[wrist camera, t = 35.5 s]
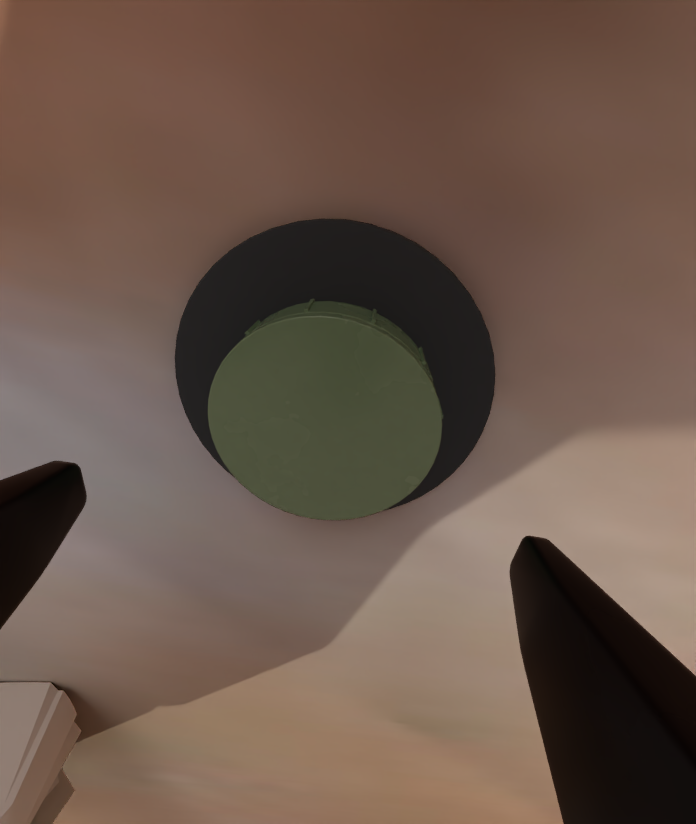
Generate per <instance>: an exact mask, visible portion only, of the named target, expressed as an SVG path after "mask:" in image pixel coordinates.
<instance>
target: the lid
mask: <svg viewBox="0 0 696 824" xmlns="http://www.w3.org/2000/svg"><path fill="white" fill-rule="evenodd" d="M245 334H246V336H245V337H244V338H243V339H242V340H241V341H240V342H239V343H238V344H237V345H236V346H235V347H234V348H233V349H232V350H231V351H230V352H229V354H228V355H227V356H226V357H225V359H224V360H223V361H222V363H221V365H220V366H219V368H218V370H217V372H216V374H215V376H214V379H213V382H212V384H211V388H210V393H209V398H208V421H209V428H210V432H211V436H212V440H213V442H214V445H215V447H216V450H217V452H218V454H219V455H220V457H221V459H222V461H223V463H224V464H225V465H226V467H227V468H228V470H229V471H230V472H231V474H232V475H233V476H234V477H235V478H236V479H237V480H238V481H239V482H240V483H241V484H242V485H243V486H244V487H245V488H246V489H248V490H249V491H250V492H251V493H253V494H254V495H255V496H257V497H258V498H260V499H261V500H263V501H265V502H266V503H268V504H270V505H272V506H274V507H276V508H278V509H281V510H283V511H285V512H288V513H292V514H295V515H298V516H302V517H307V518H311V519H320V520H348V519H355V518H360V517H365V516H368V515H372V514H375V513H378V512H380V511H382V510H385V509H387V508H389V507H391V506H393V505H394V504H396V503H398V502H400V501H401V500H402V499H404V498H405V497H406V496H408V495H409V494H410V493H411V492H412V491H413V490H414V489H415V488H416V487H417V486H418V485H419V484H420V483H421V482H422V481H423V479H424V478H425V477H426V475H427V474H428V472H429V470H430V469H431V467H432V465H433V463H434V461H435V458H436V456H437V453H438V451H439V446H440V442H441V436H442V419H443V413H442V409H441V405H440V401H439V398H438V396H437V392H436V388H435V385H434V381H433V377H432V374H431V371H430V369H429V366H428V364H427V361H426V360H425V356H424V352H423V349H422V348H421V347H420V348H418V347H417V346H416V344H415V343H414V342H413V341H412V339H411V338H410V337H409V336H408V335H407V334H406V333H405V332H404V331H403V330H401V329H400V328H399V327H398V326H396V325H395V324H394V323H392V322H391V321H390V320H388V319H387V318H385V317H383V316H381V315H379V314H377V310H376V309H373V310H372V311H371V310H368V309H366V308H363V307H360V306H356V305H352V304H348V303H343V302H333V301H315V299H311V300H310V301H309V302H307V303H302V304H297V305H294V306H291V307H287V308H284V309H282V310H280V311H278V312H276V313H274V314H272V315H270V316H268V317H267V318H266V319H264V320H263V321H261V322H260V321H259V320H257V321H256V322H255V323H254V324H253V325H252V326H251V327H250V328H249V329H248V330H247V331H246V332H245Z"/></svg>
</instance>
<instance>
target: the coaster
mask: <svg viewBox="0 0 696 824" xmlns="http://www.w3.org/2000/svg"><path fill="white" fill-rule="evenodd" d="M311 299H315V301H333V302H343V303H348V304H352V305H356V306H360V307H363V308H366V309H368V310H371V311H372V310H373V309H376V310H377V314H379V315H381V316H383V317H385V318H387V319H388V320H390V321H391V322H392V323H394V324H395V325H396V326H398V327H399V328H400V329H401V330H403V331H404V332H405V333H406V334H407V335H408V336H409V337H410V338H411V339H412V341H413V342H414V343H415V344H416V346H417V347H418V348H420V347H421V348H422V349H423V352H424V356H425V360H426V361H427V364H428V366H429V369H430V371H431V374H432V377H433V381H434V385H435V388H436V392H437V396H438V398H439V401H440V405H441V409H442V413H443V419H442V436H441V442H440V446H439V451H438V453H437V456H436V458H435V461H434V463H433V465H432V467H431V469H430V470H429V472H428V474H427V475H426V477H425V478H424V479H423V481H422V482H421V483H420V484H419V485H418V486H417V487H416V488H415V489H414V490H413V491H412V492H411V493H410V494H409V495H408V496H406V497H405V498H404V499H402V500H401V501H400V502H398V503H396V504H394V505H393V506H391V507H389V508H387V509H391V508H394V507H397V506H400V505H403V504H405V503H408V502H410V501H412V500H414V499H416V498H418V497H420V496H422V495H424V494H426V493H427V492H429V491H430V490H432V489H434V488H435V487H437V486H438V485H439V484H441V483H442V482H443V481H444V480H445V479H447V478H448V477H449V476H450V475H451V474H452V473H453V472H454V471H455V470H456V469H457V468H458V467H459V466H460V465H461V464H462V463H463V462H464V460H465V459H466V458H467V456H468V455H469V454H470V452H471V451H472V450H473V448H474V447H475V445H476V443H477V441H478V439H479V437H480V436H481V434H482V432H483V430H484V427H485V424H486V422H487V419H488V416H489V414H490V409H491V405H492V400H493V396H494V385H495V366H494V354H493V349H492V345H491V341H490V336H489V333H488V330H487V328H486V325H485V323H484V320H483V317H482V315H481V313H480V311H479V309H478V307H477V306H476V304H475V302H474V300H473V299H472V297H471V295H470V294H469V292H468V291H467V290H466V288H465V287H464V286H463V285H462V283H461V282H460V281H459V280H458V278H457V277H456V276H455V275H454V274H453V272H451V271H450V270H449V269H448V268H447V267H446V266H445V265H444V264H443V263H442V262H441V261H440V260H439V259H438V258H437V257H436V256H434V255H433V254H431V253H430V252H428V251H427V250H426V249H424V248H423V247H421V246H420V245H418V244H417V243H415V242H413V241H411V240H409V239H407V238H405V237H403V236H401V235H399V234H398V233H396V232H393V231H390V230H387V229H384V228H381V227H378V226H375V225H372V224H368V223H363V222H357V221H352V220H346V219H315V220H306V221H297V222H294V223H290V224H286V225H282V226H279V227H275V228H271V229H269V230H267V231H265V232H262V233H260V234H258V235H255V236H253V237H251V238H249V239H247V240H246V241H244V242H243V243H241V244H239V245H238V246H236V247H235V248H233V249H232V250H230V251H229V252H228V253H227V254H225V255H224V256H223V257H222V258H221V259H220V260H219V261H218V262H216V263H215V264H214V265H213V266H212V267H211V269H210V270H209V271H208V272H207V273H206V275H205V276H204V277H203V278H202V279H201V281H200V282H199V284H198V285H197V287H196V289H195V290H194V292H193V294H192V295H191V297H190V299H189V301H188V303H187V306H186V308H185V310H184V313H183V315H182V318H181V322H180V326H179V330H178V334H177V340H176V351H175V368H176V379H177V385H178V390H179V395H180V398H181V401H182V404H183V407H184V410H185V413H186V415H187V417H188V419H189V421H190V423H191V426H192V428H193V430H194V431H195V433H196V434H197V436H198V437H199V439H200V441H201V442H202V444H203V445H204V446H205V448H206V449H207V450H208V451H209V453H210V454H211V455H212V456H213V458H214V459H215V460H216V461H217V462H218V463H219V464H220V465H221V466H222V467H223V468H224V469H225V470H226V471H227V472H229V473H230V474H231V472H230V471H229V470H228V468H227V467H226V465H225V464H224V463H223V461H222V459H221V457H220V455H219V454H218V452H217V450H216V447H215V445H214V442H213V440H212V436H211V432H210V428H209V421H208V398H209V393H210V388H211V384H212V382H213V379H214V376H215V374H216V372H217V370H218V368H219V366H220V365H221V363H222V361H223V360H224V359H225V357H226V356H227V355H228V354H229V352H230V351H231V350H232V349H233V348H234V347H235V346H236V345H237V344H238V343H239V342H240V341H241V340H242V339H243V338H244V337H245V336H246V334H245V332H246V331H247V330H248V329H249V328H250V327H251V326H252V325H253V324H254V323H255V322H256V321H257V320H259V321H260V322H261V321H263V320H264V319H266V318H267V317H268V316H270V315H272V314H274V313H276V312H278V311H280V310H282V309H284V308H287V307H291V306H294V305H297V304H302V303H307V302H309V301H310V300H311ZM231 475H232V474H231ZM232 476H233V475H232ZM387 509H385V510H387ZM382 511H383V510H382Z"/></svg>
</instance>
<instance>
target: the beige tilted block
mask: <svg viewBox="0 0 696 824" xmlns="http://www.w3.org/2000/svg"><path fill="white" fill-rule="evenodd" d="M76 716H77V713H76V711H75V708H74V706H73V704H72V702H71V701H70V699H69V697H68V696H67V695H66V693H65V692H64V690H57V689H56V688H55V687H54V685H53V684H52V683H51V682H5V683H0V824H52V823H53V822H54V820H55V819H56V817H57V816H58V814H59V813H60V812H61V810H62V809H63V807H64V806H65V804H66V803H67V801H68V800H69V798H70V797H71V795H72V794H73V792H74V791H75V790H74V788H73V786H72V785H71V783H70V781H69V780H68V778H67V776H66V775H65V773H64V771H63V770H62V768H61V767H62V766H63V764H64V762H65V760H66V758H67V757H68V755H69V753H70V751H71V749H72V748H73V746H74V744H75V742H76V740H77V739H78V737H79V735H80V733H81V730H80V728H79V727H78V726H77V724H76V723H75V722H74V720H75V718H76Z"/></svg>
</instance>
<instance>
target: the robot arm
mask: <svg viewBox="0 0 696 824" xmlns="http://www.w3.org/2000/svg"><path fill="white" fill-rule="evenodd" d="M86 498H87V495H86V490H85V485H84V481H83V477H82V473H81V469H80V467H79V466H78V465H77V464H75V463H70V462H64V461H53V462H50V463H47V464H44V465H41V466H39V467H36V468H33V469H30V470H28V471H25V472H22V473H19V474H16V475H14V476H11V477H8V478H5V479H3V480H0V629H1V628H2V626H3V625H4V624H5V622H6V621H7V620H8V618H9V617H10V616H11V615H12V613H13V612H14V611H15V609H16V608H17V607H18V605H19V604H20V603H21V601H22V600H23V599H24V597H25V596H26V595H27V594H28V592H29V591H30V590H31V588H32V587H33V586H34V584H35V583H36V581H37V580H38V579H39V577H40V576H41V575H42V573H43V571H44V570H45V568H46V567H47V565H48V564H49V562H50V561H51V559H52V558H53V556H54V554H55V553H56V551H57V550H58V548H59V546H60V545H61V543H62V541H63V540H64V538H65V537H66V535H67V533H68V532H69V530H70V529H71V527H72V525H73V524H74V522H75V521H76V519H77V517H78V516H79V514H80V513H81V511H82V509H83V508H84V506H85V503H86ZM510 581H511V588H512V595H513V602H514V609H515V616H516V623H517V629H518V636H519V643H520V649H521V654H522V658H523V663H524V667H525V671H526V675H527V679H528V683H529V687H530V691H531V695H532V699H533V703H534V707H535V711H536V715H537V719H538V723H539V727H540V731H541V735H542V739H543V743H544V747H545V751H546V755H547V759H548V763H549V767H550V771H551V775H552V779H553V783H554V787H555V791H556V795H557V799H558V803H559V807H560V811H561V815H562V819H563V823H564V824H696V676H695V675H694V674H693V673H692V672H691V671H690V670H689V669H688V668H687V667H685V666H684V665H683V664H682V663H681V662H680V661H679V660H678V659H677V658H676V657H675V656H674V655H672V654H671V653H670V652H669V651H668V650H667V649H666V648H665V647H664V646H663V645H662V644H661V643H659V642H658V641H657V640H656V639H655V638H654V637H653V636H652V635H651V634H650V633H649V632H648V631H647V630H645V629H644V628H643V627H642V626H641V625H640V624H639V623H638V622H637V621H636V620H635V619H634V618H632V617H631V616H630V615H629V614H628V613H627V612H626V611H625V610H624V609H623V608H622V607H621V606H620V605H618V604H617V603H616V602H615V601H614V600H613V599H612V598H611V597H610V596H609V595H608V594H607V593H605V592H604V591H603V590H602V589H601V588H600V587H599V586H598V585H597V584H596V583H595V582H594V581H592V580H591V579H590V578H589V577H588V576H587V575H586V574H585V573H584V572H583V571H582V570H581V569H580V568H578V567H577V566H576V565H575V564H574V563H573V562H572V561H571V560H570V559H569V558H568V557H567V556H565V555H564V554H563V553H562V552H561V551H560V550H559V549H558V548H557V547H556V546H555V545H554V544H553V543H551V542H550V541H549V540H548V539H545V538H540V537H534V536H526V537H524V538H523V539H522V541H521V543H520V545H519V547H518V549H517V551H516V554H515V556H514V558H513V560H512V562H511V565H510Z"/></svg>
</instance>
